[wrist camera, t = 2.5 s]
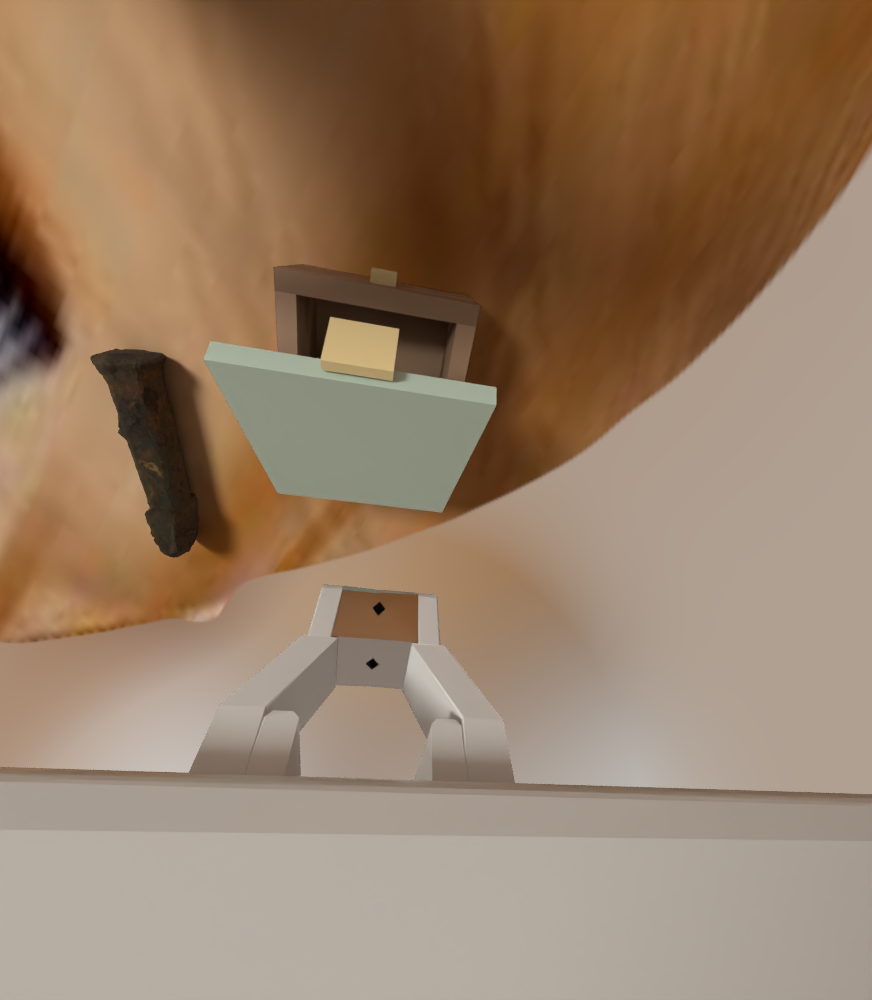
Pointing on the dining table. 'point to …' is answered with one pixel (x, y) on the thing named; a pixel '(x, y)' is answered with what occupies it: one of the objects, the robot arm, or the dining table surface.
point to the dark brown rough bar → (152, 444)
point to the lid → (353, 419)
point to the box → (376, 316)
